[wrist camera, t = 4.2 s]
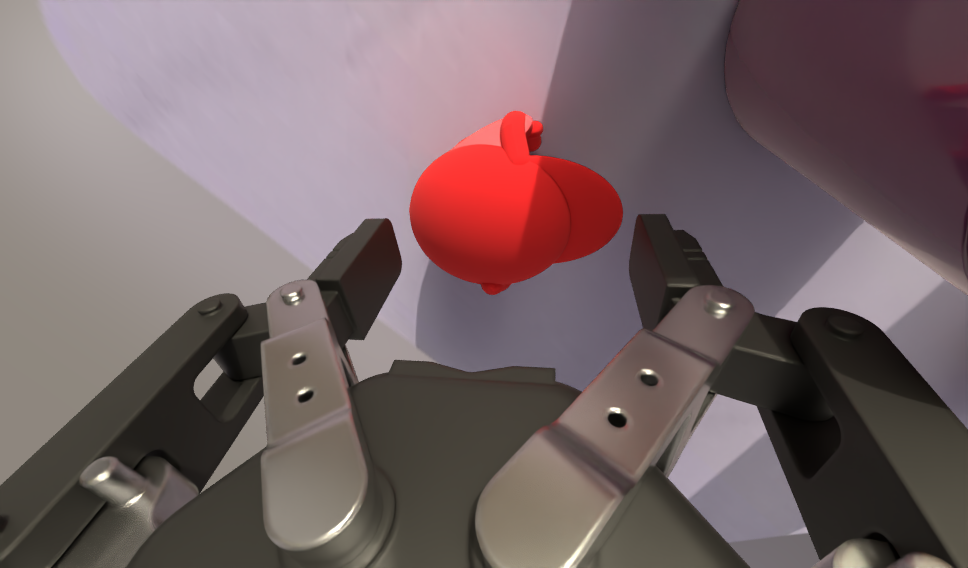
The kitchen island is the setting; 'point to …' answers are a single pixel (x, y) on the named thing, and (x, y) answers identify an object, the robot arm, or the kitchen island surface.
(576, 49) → the kitchen island surface
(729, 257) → the kitchen island surface
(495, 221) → the cap
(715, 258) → the kitchen island surface
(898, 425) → the robot arm
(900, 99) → the jar
